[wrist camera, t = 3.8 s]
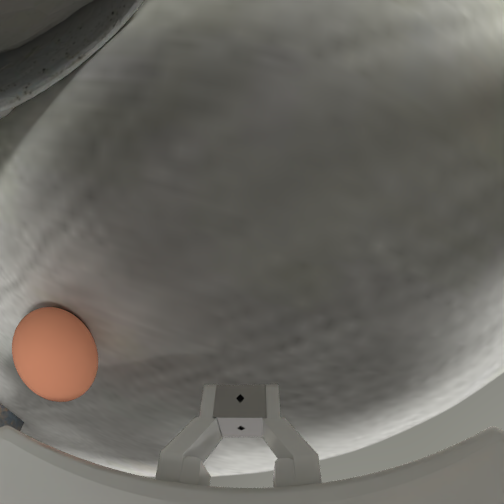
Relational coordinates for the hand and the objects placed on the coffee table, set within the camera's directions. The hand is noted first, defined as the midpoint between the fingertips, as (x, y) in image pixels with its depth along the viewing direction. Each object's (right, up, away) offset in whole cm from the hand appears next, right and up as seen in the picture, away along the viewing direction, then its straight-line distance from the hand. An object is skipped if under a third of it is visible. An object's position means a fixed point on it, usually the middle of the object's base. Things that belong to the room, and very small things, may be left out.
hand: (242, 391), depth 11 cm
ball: (-10, 0, 0) cm, 10 cm away
